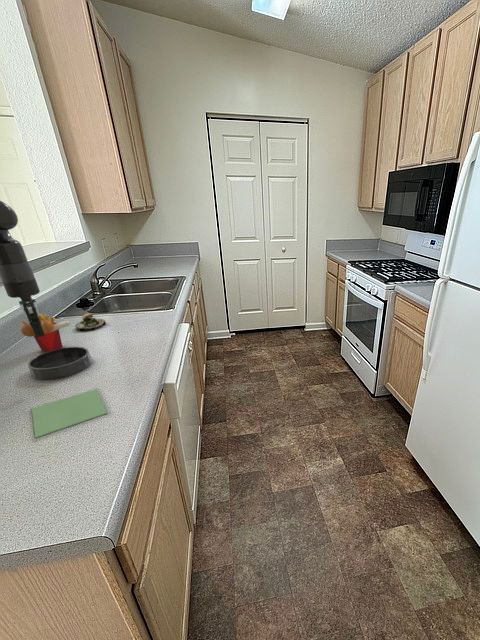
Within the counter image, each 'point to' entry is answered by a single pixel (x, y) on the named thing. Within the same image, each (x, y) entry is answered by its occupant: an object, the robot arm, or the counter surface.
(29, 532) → the counter surface
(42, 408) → the napkin
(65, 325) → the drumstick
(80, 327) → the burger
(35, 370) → the pan
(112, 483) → the counter surface
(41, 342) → the french fries
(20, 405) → the counter surface
